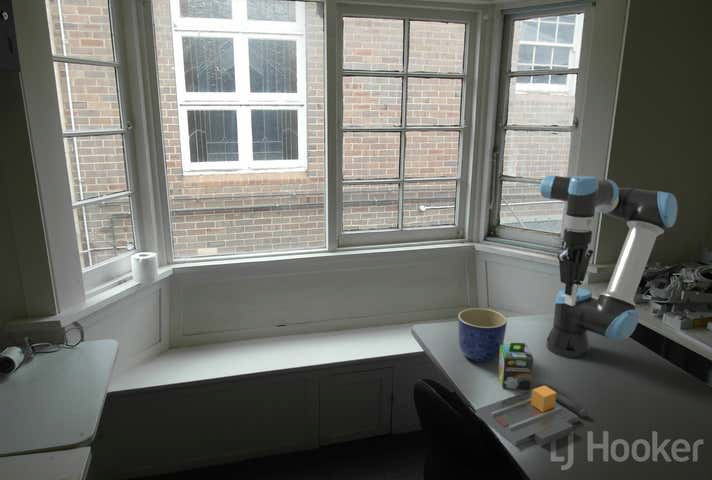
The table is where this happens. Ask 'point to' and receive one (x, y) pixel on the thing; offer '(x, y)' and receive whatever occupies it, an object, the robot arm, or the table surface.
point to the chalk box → (515, 366)
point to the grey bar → (553, 433)
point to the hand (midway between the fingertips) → (569, 304)
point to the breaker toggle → (543, 398)
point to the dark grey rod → (570, 405)
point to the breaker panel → (522, 417)
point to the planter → (481, 333)
